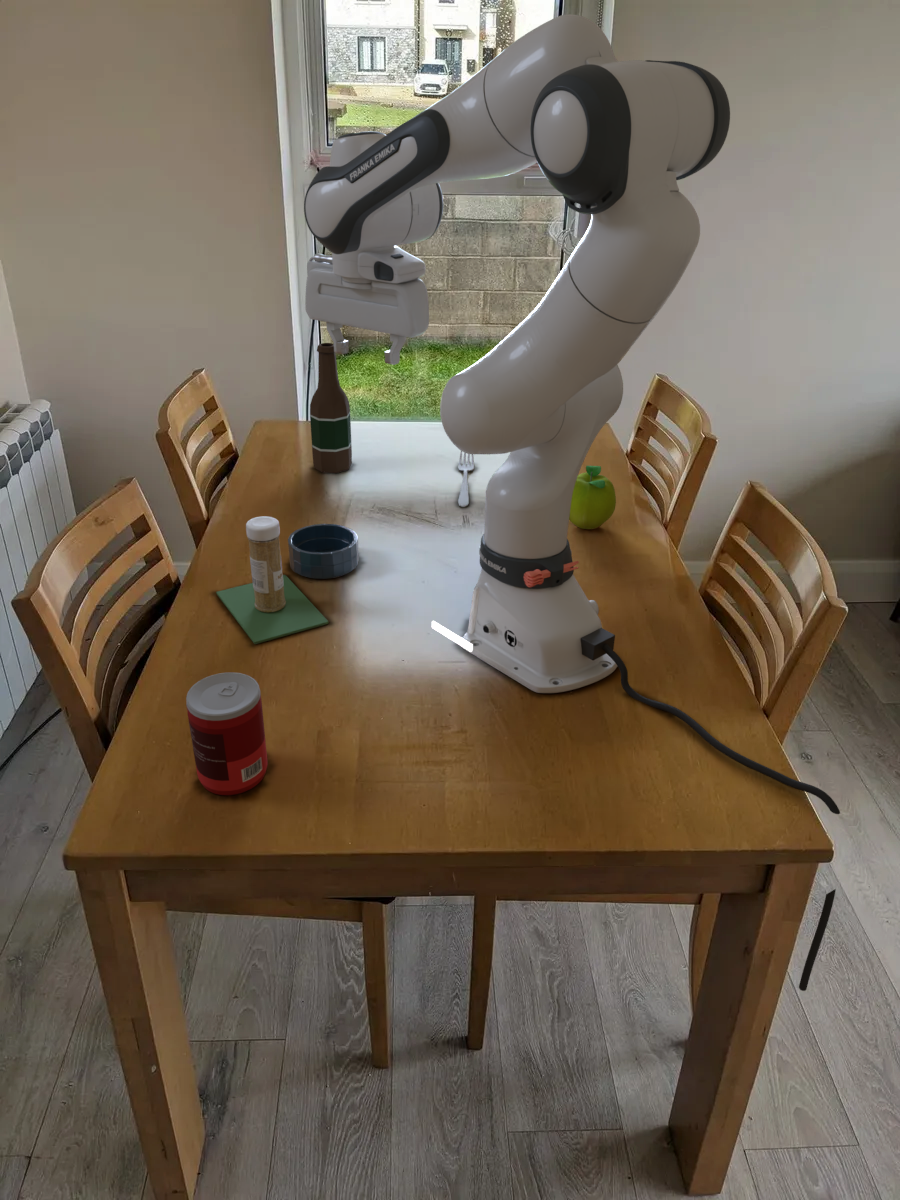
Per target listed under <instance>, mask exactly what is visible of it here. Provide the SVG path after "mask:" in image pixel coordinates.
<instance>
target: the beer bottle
mask: <svg viewBox="0 0 900 1200" xmlns="http://www.w3.org/2000/svg"><path fill="white" fill-rule="evenodd" d="M316 352H317V353H318V362H317V363H318V365H317V366H318V372H317V373H318V374H317V375H318V376H317V377H318V381H317V388H316V390H315V392H314V394H313V395H312V398H311V400H310V404H309V419H310V420H309V421H310V422H309V423H310V435H311V436H310V438H311V451H312V452H311V453H312V463H313V468H314V469H315V470H317V471H319V472H321V473H325V474H339V473H342V472H346V471H348V470H349V469H350V468H351V465H352V462H353V461H352V460H353V450H352V447H353V446H352V426H351V423H352V422H351V406H350V400H349V398H348V395H347V394H346V392H345V391H344V390H343V388H342V387H341V384H340V380H339V372H338V371H339V370H338V361H337V353H335V352H334V343H332V342H322V343H319V344H318V345H317V348H316Z"/></svg>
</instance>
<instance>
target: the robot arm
mask: <svg viewBox="0 0 900 1200" xmlns="http://www.w3.org/2000/svg"><path fill="white" fill-rule="evenodd" d="M730 124H731V105H730V101H729V97H728V93H727V91H726V89H725V87H724V85H723V84H722V82H721V80H719V78H718V77H716V76H715V75H714V74H713V73H711V72H710V71H709V70H706V69H704V68H702V67H701V66H698V65H695V64H692V63H688V62H684V61H678V60H650V59H646V60H642V59H632V60H631V59H627V60H620V61H619V60H618V59H617V58H616V56H615V53H614V50H613V47H612V45H611V42H610V40H609V38H608V37H607V35H606V34H605V33H604V31H603V29H601V28H600V26H598V24H596V22H594V21H592V20H590V18H587V17H585V16H583V15H580V14H574V13H568V14H561V15H559V16H556V17H554V18H552V19H550V20H547V21H545V22H544V23H542V24H540V25H539V26H537V27H535V28H533V29H531V30H530V31H529V32H527V33H525V34H523V35H522V36H521V37H519V38H518V39H516V40H515V41H514V42H512V43H511V44H510V45H508V46H507V47H506V48H504V49H503V50H502V51H501V52H500V53H499V54H498V55H496V56H495V57H494V58H492V59H491V60H490V61H489V62H488V63H487V64H486V65H485V66H484V67H482V68H481V69H480V70H479V71H478V72H476V73H475V74H473V76H471V77H470V78H469V79H467V80H466V81H465V82H464V83H462V84H461V85H460V86H458V87H456V88H455V89H454V90H453V91H452V92H450V93H449V94H447V95H446V96H444V97H442V98H441V99H440V100H438V101H436V102H434V104H431V105H430V106H428V107H427V108H426V109H424V110H423V111H421V112H419V113H417V114H416V115H415V116H413V117H411V118H410V119H408V120H407V121H405V122H403V123H401V124H400V125H398V126H397V127H396V128H393V130H391V131H390V132H389V133H387V134H386V133H383V132H381V131H359V132H350V133H345V134H342V135H340V136H338V137H337V138H336V139H334V140H333V142H332V145H331V150H330V158H329V165H328V166H324V167H322V168H320V169H319V170H318V171H317V173H316V174H315V175H314V177H313V179H312V180H311V182H310V183H309V186H308V187H307V189H306V193H305V196H304V201H303V212H304V219H305V223H306V225H307V227H308V229H309V232H310V233H311V234H312V235H313V237H314V238H315V239H316V240H317V241H318V243H320V244H321V245H322V246H323V247H324V248H325V249H326V250H328V251H329V252H331V255H330V254H329V255H325V254H322V253H315V254H314V255H313V256H311V257H310V258H309V260H308V261H307V263H306V274H307V277H306V283H305V297H304V298H305V300H304V302H305V304H304V305H305V307H304V308H305V312H306V314H307V316H308V318H309V319H310V320H312V321H313V320H314V321H319V322H326V324H325V325H326V331H327V332H328V335H329V337H330V338H331V341H332V342H333V344H334V352H335V353H336V354H338V355H345V354H348V353H349V351H350V349H349V346H350V344H349V340H348V339H345V337H344V335H343V332H342V330H341V329H342V328H343V327H344V326H345V327H350V328H351V327H352V328H357V329H361V330H366V331H373V332H378V333H384V334H389V341H390V342H392V344H391V347H390V349H389V350H386V351H384V363H385V364H388V365H393V366H395V365H399V363H400V361H401V359H400V358H401V356H400V355H401V353H400V352H401V350H402V349H403V346H404V345H405V343H406V341H407V338H410V339H411V338H416V337H419V336H421V335H424V334H425V333H426V331H427V330H428V328H429V325H430V305H429V304H430V303H429V294H428V289H427V286H426V284H425V282H424V281H423V280H422V279H421V278H423V277H425V275H426V269H427V268H426V263H425V262H424V261H423V260H422V259H420V258H418V257H416V256H414V255H413V254H410V253H409V252H407V251H405V250H404V249H402V248H401V247H399V246H400V245H408V244H416V243H421V242H423V241H426V240H430V239H431V238H433V236H434V235H435V234H436V233H437V230H438V229H439V226H440V225H441V222H442V217H443V213H444V197H443V196H444V195H443V192H442V188H441V185H440V183H448V182H457V181H470V180H471V181H472V180H485V179H494V178H495V179H496V178H501V177H502V178H503V177H506V176H509V175H512V174H516V173H518V172H520V171H523V170H526V169H529V168H530V167H532V166H534V165H536V164H537V165H538V166H539V169H540V171H541V172H542V174H543V175H544V177H545V179H547V182H549V184H550V185H551V187H553V188H554V189H555V190H557V191H558V192H559V193H560V194H561V195H562V197H563V199H564V201H565V204H566V206H567V207H568V208H569V209H571V210H573V211H574V212H576V213H579V214H581V215H582V214H583V215H591V218H590V222H589V225H588V227H587V229H586V231H585V233H584V235H583V236H582V238H581V239H580V241H579V242H578V244H577V245H576V247H575V248H574V250H573V251H572V253H571V255H570V256H569V257H568V260H567V261H566V262H565V264H564V265H563V268H562V269H561V270H560V272H559V274H558V275H557V276H556V278H555V280H554V281H553V283H552V284H551V286H550V287H549V289H548V290H547V292H546V293H545V294H544V296H543V297H542V299H541V301H540V302H539V303H538V304H537V305H536V307H535V308H534V309H533V310H532V311H531V312H530V313H529V314H528V316H526V318H525V319H523V320H522V321H521V322H520V323H519V324H518V325H517V326H516V327H515V328H514V329H513V330H512V331H510V333H508V334H507V335H506V336H505V337H504V338H503V339H502V340H501V341H499V342H498V344H496V345H495V346H494V347H493V348H492V349H491V350H490V351H488V353H486V354H485V355H484V356H482V357H481V358H480V359H478V360H477V361H475V363H473V364H471V365H469V366H468V367H466V368H465V369H463V370H462V371H459V372H458V373H456V374H455V375H453V376H452V377H450V378H449V380H448V381H447V382H446V384H445V385H444V388H443V390H442V393H441V397H440V402H439V414H440V421H441V424H442V428H443V430H444V432H445V434H446V436H447V437H448V439H449V440H450V441H451V443H452V445H454V446H455V447H456V448H457V449H458V450H460V452H461V451H462V453H464V452H465V453H466V455H468V454H470V455H472V454H473V455H504V454H508V456H507V458H506V459H505V460H504V461H503V463H502V464H501V465H500V466H499V467H498V468H497V469H496V470H495V471H494V472H493V474H492V475H491V477H490V478H489V479H488V483H487V485H486V488H485V501H484V502H485V504H484V523H483V525H484V526H483V534H482V536H481V537H480V545H479V547H478V549H479V550H478V554H479V565H480V567H481V570H480V573H479V575H478V579H477V581H476V583H475V585H474V588H473V591H472V595H471V596H472V598H471V604H470V610H469V618H468V627H467V631H466V632H465V633H464V635H463V636H460V635H458V634H456V633H455V632H453V631H451V630H450V629H449V628H446V627H445V626H443V625H441V624H440V623H439V622H436V621H435V620H432V621H431V628H432V629H433V630H435V631H436V632H438V633H440V634H441V635H443V636H444V637H446V638H447V639H449V640H451V641H452V642H454V643H455V644H457V645H459V646H460V647H461V648H462V649H463V650H464V651H466V652H468V653H469V654H471V655H473V656H474V657H476V658H478V659H479V660H481V661H482V662H484V663H486V664H487V665H489V666H491V667H493V669H495V670H497V671H499V672H501V673H502V674H504V675H506V676H507V677H509V678H511V679H512V680H514V681H515V682H517V683H519V684H520V685H522V686H524V687H526V688H527V689H529V690H530V691H532V692H534V693H537V694H557V693H564V692H569V691H572V690H573V691H574V690H578V689H580V688H583V687H586V686H589V685H592V684H594V683H597V682H599V681H601V680H603V679H605V678H606V677H608V676H610V675H611V674H612V673H613V672H615V670H616V669H617V668H618V669H619V672H620V684H621V687H622V689H623V690H624V691H625V693H626V694H627V695H628V696H630V697H631V698H632V699H634V700H636V701H639V702H641V703H643V704H645V705H648V706H650V707H653V708H654V709H657V710H660V711H664V712H666V713H669V714H672V715H673V716H675V717H677V718H678V719H680V720H681V721H683V723H685V724H687V725H688V726H689V727H690V728H691V729H692V730H694V731H695V732H696V733H697V734H698V736H699V737H701V738H702V739H703V740H704V741H705V742H706V743H707V744H709V745H710V746H712V747H713V748H714V749H716V750H717V751H718V752H720V753H722V754H723V755H724V756H726V757H728V758H730V759H732V760H734V761H735V762H737V763H739V764H741V765H743V766H745V767H747V768H750V769H752V770H754V771H755V772H758V773H760V774H763V775H764V776H767V777H768V778H771V779H773V780H775V781H777V782H779V783H781V784H783V785H785V786H788V787H790V788H793V789H795V790H798V791H801V792H805V793H807V794H810V795H813V796H815V797H817V798H818V799H819V800H821V801H822V802H823V803H824V804H825V805H826V807H827V808H828V809H829V811H830V812H831V813H832V814H835V815H840V814H841V811H840V808H839V807H838V805H837V804H836V802H835V801H834V799H833V798H832V797H831V796H830V795H829V794H828V793H827V792H825V791H824V790H822V789H821V788H819V787H817V786H815V785H812V784H809V783H805V782H803V781H799V780H796V779H793V778H791V777H789V776H787V775H785V774H783V773H780V772H778V771H777V770H774V769H772V768H770V767H768V766H766V765H763V764H761V763H759V762H757V761H755V760H752V759H750V758H749V757H746V756H744V755H742V754H740V753H738V752H737V751H735V750H733V749H732V748H729V747H728V746H727V745H726V744H724V743H722V742H720V741H719V740H717V739H716V738H715V737H714V736H712V734H710V733H709V732H708V731H707V730H706V729H705V728H703V727H702V725H701V724H700V723H699V722H697V721H696V720H695V719H693V718H692V717H691V716H690V715H688V714H687V713H686V712H684V711H682V709H681V710H680V709H679V708H677V707H675V706H673V705H671V704H668V703H664V702H661V701H658V700H653V699H651V698H647V697H645V696H643V695H641V694H640V693H638V692H636V690H634V688H633V687H632V686H631V685H630V683H629V674H628V669H627V666H626V664H625V662H624V661H623V659H622V658H621V656H619V655H618V653H616V651H615V650H614V648H615V640H616V635H615V634H614V633H613V632H610V631H608V630H606V629H604V628H603V625H602V620H601V618H600V616H599V611H600V609H599V605H598V603H597V601H596V600H594V599H590V600H589V598H588V597H587V595H586V593H585V592H584V590H583V588H582V587H581V585H580V583H579V582H578V580H577V578H576V576H575V574H574V571H575V570H577V569H579V567H578V566H577V565H578V564H579V563H580V561H578V560H575V561H573V556H572V555H573V554H572V549H571V545H570V541H569V539H568V535H569V534H568V533H569V532H568V531H569V524H570V520H569V516H570V508H571V500H572V494H573V490H574V486H575V482H576V479H577V477H578V475H579V474H580V471H581V468H582V466H583V463H584V462H585V459H586V457H587V455H588V453H589V451H590V448H591V447H592V445H593V443H594V441H595V439H596V438H597V436H598V434H599V433H600V431H601V430H602V429H603V428H604V427H605V425H606V424H607V423H608V421H610V420H611V418H612V417H613V416H615V414H616V413H617V412H618V410H619V408H620V407H621V404H622V401H623V396H624V379H623V375H622V372H621V370H620V369H621V368H620V367H619V363H621V361H622V360H623V359H624V358H625V356H626V355H627V353H628V352H629V351H630V349H632V348H633V346H634V344H635V343H636V342H637V341H638V339H639V338H640V337H641V335H643V333H644V332H645V330H646V329H647V328H648V327H649V325H650V324H651V323H652V322H653V320H654V319H655V317H656V316H657V315H658V313H659V312H660V311H661V309H662V308H663V307H664V305H665V304H666V302H667V301H668V300H669V298H670V297H671V295H672V293H673V292H674V290H675V289H676V287H677V285H678V284H679V282H680V280H681V279H682V277H683V276H684V273H685V272H686V270H687V268H688V266H689V264H690V263H691V260H692V258H693V256H694V255H695V252H696V249H697V247H698V245H699V242H700V237H701V224H700V219H699V216H698V213H697V211H696V209H695V207H694V205H693V204H692V202H691V201H690V200H689V198H687V197H686V196H685V195H684V194H683V193H682V192H681V191H680V188H679V186H678V182H677V181H679V180H683V179H685V178H688V177H690V176H693V175H694V174H696V173H698V172H700V171H701V170H702V169H705V167H707V166H708V165H709V164H710V163H711V162H712V161H713V160H714V159H715V158H716V157H717V156H718V154H719V153H720V151H721V150H722V148H723V147H724V144H725V142H726V139H727V137H728V133H729V128H730ZM576 204H578V205H580V207H578V206H576ZM836 891H837V889H836V888H835V889H833V890H831V891H830V892H827V893H826V894H825V896H824V897H825V898H824V901H823V906H822V910H821V914H820V917H819V920H818V924H817V927H816V929H815V933H814V935H813V939H812V940H811V945H810V947H809V950H808V954H807V957H806V959H805V962H804V966H803V969H802V973H801V975H800V981H799V985H798V989H799V990H800V991H802V992H805V991H807V989H808V985H809V981H810V977H811V974H812V971H813V967H814V964H815V962H816V958H817V955H818V953H819V949H820V946H821V943H822V941H823V938H824V935H825V932H826V929H827V926H828V923H829V919H830V916H831V912H832V909H833V908H832V907H833V906H834V900H835V896H836Z"/></svg>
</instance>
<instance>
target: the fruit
mask: <svg viewBox="0 0 900 1200" xmlns="http://www.w3.org/2000/svg"><path fill="white" fill-rule="evenodd" d="M585 471H586V472H582V473H579V474H578V477H577V479H576V482H575V486H574V490H573V494H572V500H571V508H570V516H569V522H570V523H572V524H573V525H574V526H576V527H577V528H579V529H582V530H595V529H597V528H599V527H600V526H602V525H603V524H605V523H606V522H607V521H608V520H609V519H610V518H611V517H612V516H613V514H614V512H615V510H616V506H617V497H616V490H615V487H614V484H613V482H612V481H611V480H610V479H609V478H608V477H606V476H605V475H602V474H601V473H602V466H601V465H586V466H585Z"/></svg>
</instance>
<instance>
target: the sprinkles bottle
mask: <svg viewBox="0 0 900 1200" xmlns="http://www.w3.org/2000/svg"><path fill="white" fill-rule="evenodd" d="M245 532H246V537H247V540H248V548H249V563H250V572H251V580H252V583H253V588H254V595H255V608H256V609H257V610H259V611H262V612H267V613H269V612H276V611H279V610H281V609H282V608H284V606H285V604H286V601H285V597H284V587H283V585H284V582H283V575H284V574H283V563H282V554H281V546H280V545H281V544H280V534H281V528H280V521H279V520H278V519H277V518H275V517H273V516H266V515H264V516H262V515H261V516H256V517H252V518H251V519H249V520H247V522H246V523H245Z"/></svg>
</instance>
